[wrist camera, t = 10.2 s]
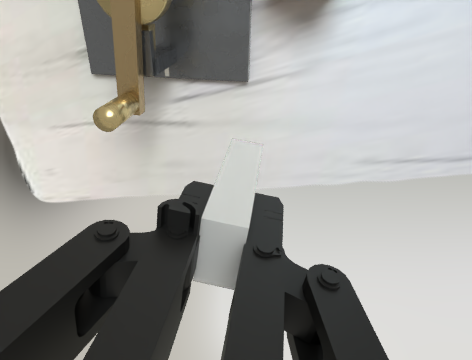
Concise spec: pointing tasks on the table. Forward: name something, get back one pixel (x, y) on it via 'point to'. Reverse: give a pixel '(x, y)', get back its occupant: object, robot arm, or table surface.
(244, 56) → the post base
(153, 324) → the robot arm
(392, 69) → the table surface
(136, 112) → the brass crank handle
